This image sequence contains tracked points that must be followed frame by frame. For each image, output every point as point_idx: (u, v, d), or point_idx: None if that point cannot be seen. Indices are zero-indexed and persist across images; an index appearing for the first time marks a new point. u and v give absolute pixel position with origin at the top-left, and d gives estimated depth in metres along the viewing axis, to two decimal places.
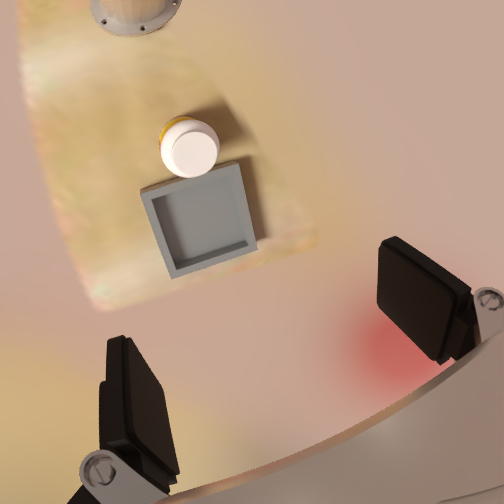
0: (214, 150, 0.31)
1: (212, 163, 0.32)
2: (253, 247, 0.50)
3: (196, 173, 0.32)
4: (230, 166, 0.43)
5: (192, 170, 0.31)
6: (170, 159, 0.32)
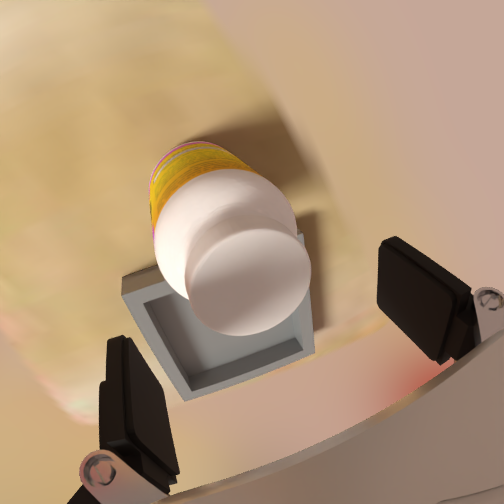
0: (304, 272, 0.12)
1: (295, 303, 0.12)
2: (309, 351, 0.31)
3: (254, 329, 0.12)
4: None
5: (244, 324, 0.12)
6: (181, 279, 0.13)
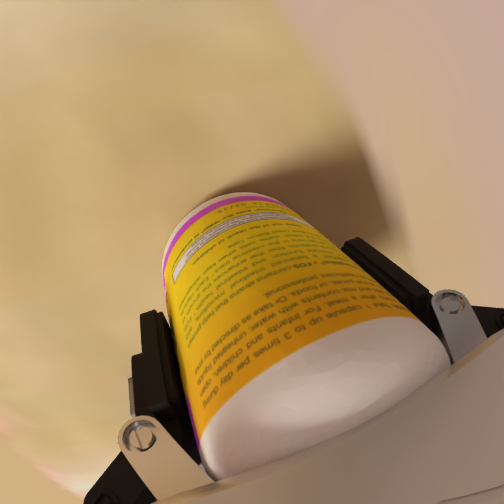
0: None
1: None
2: None
3: None
4: None
5: None
6: None
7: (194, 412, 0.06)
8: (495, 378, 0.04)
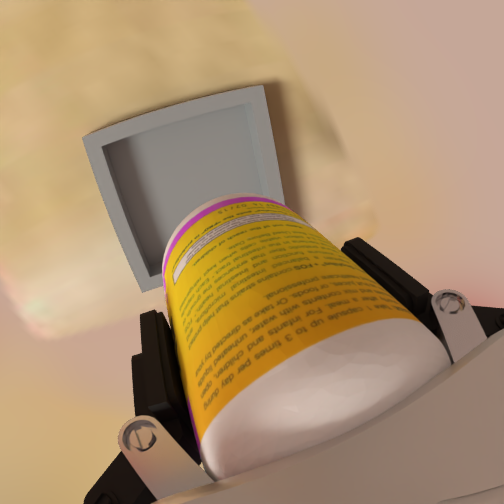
0: None
1: None
2: None
3: None
4: (248, 89, 0.22)
5: None
6: None
7: (195, 414, 0.06)
8: (495, 378, 0.04)
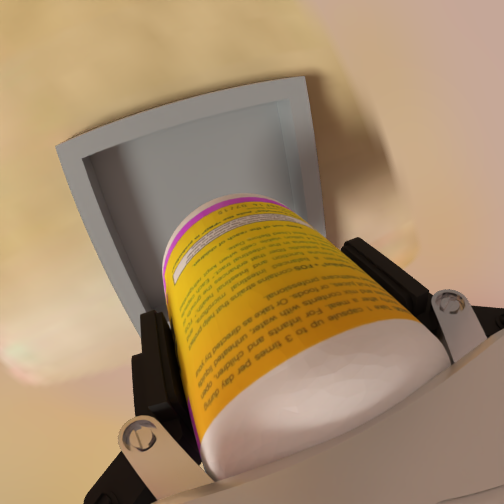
0: None
1: None
2: None
3: None
4: (285, 80, 0.16)
5: None
6: None
7: (195, 414, 0.06)
8: (495, 378, 0.04)
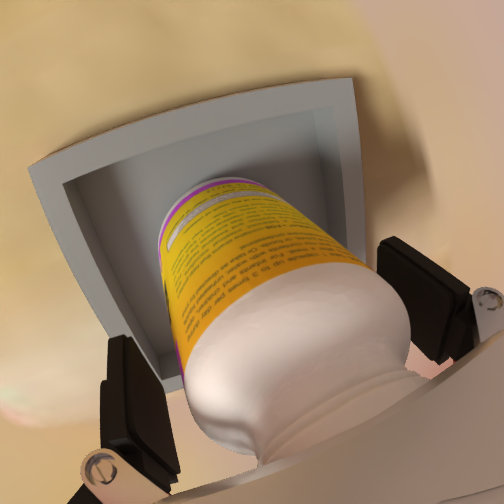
0: None
1: None
2: None
3: None
4: (329, 82, 0.12)
5: None
6: (237, 446, 0.07)
7: (180, 350, 0.08)
8: (495, 378, 0.04)
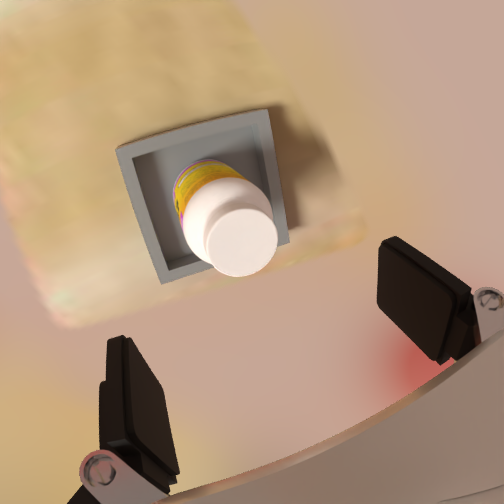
0: (273, 236, 0.20)
1: (269, 257, 0.21)
2: (283, 238, 0.34)
3: (244, 272, 0.21)
4: (255, 112, 0.27)
5: (238, 268, 0.21)
6: (199, 243, 0.22)
7: (182, 211, 0.23)
8: (495, 378, 0.04)
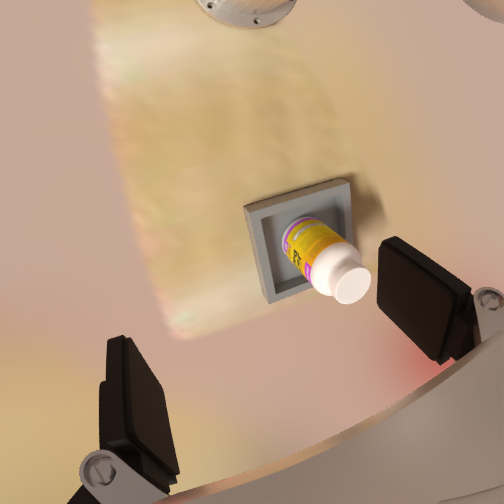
0: (369, 280, 0.33)
1: (365, 291, 0.34)
2: None
3: (351, 301, 0.34)
4: (342, 185, 0.40)
5: (349, 299, 0.34)
6: (323, 284, 0.35)
7: (309, 262, 0.36)
8: (495, 378, 0.04)
